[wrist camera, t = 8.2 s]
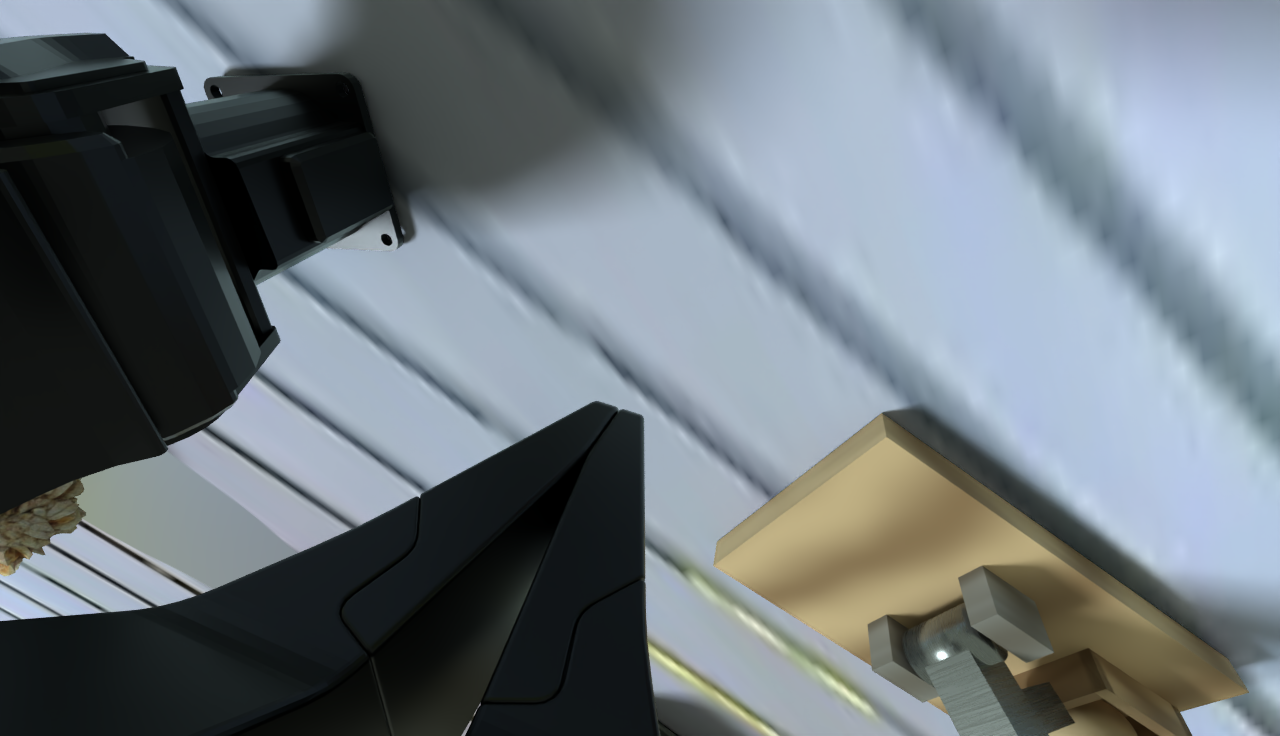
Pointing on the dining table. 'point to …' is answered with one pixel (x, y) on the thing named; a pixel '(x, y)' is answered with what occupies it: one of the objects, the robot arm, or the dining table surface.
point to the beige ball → (1096, 721)
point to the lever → (979, 680)
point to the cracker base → (963, 583)
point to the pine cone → (38, 524)
